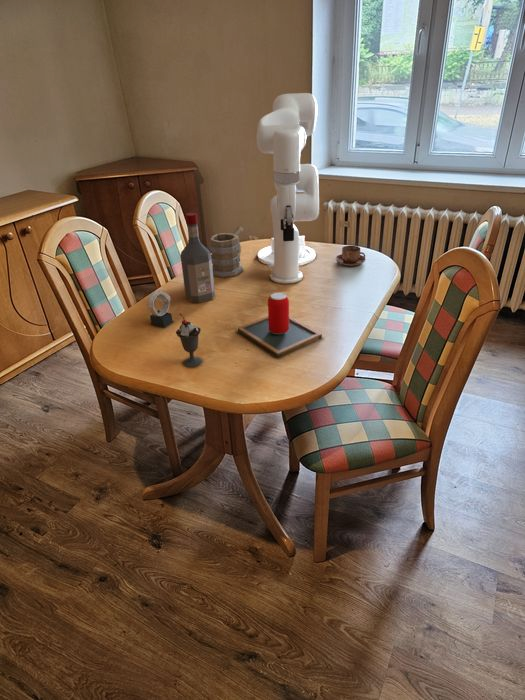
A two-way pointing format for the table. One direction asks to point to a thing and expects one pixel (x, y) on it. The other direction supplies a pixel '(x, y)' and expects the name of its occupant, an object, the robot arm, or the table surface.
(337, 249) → the table surface
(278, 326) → the beverage can
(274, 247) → the robot arm
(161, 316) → the ring sculpture on stand
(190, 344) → the sundae
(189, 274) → the liquor
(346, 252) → the cup and saucer
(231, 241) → the tankard
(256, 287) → the table surface
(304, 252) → the dish
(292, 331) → the chalkboard
